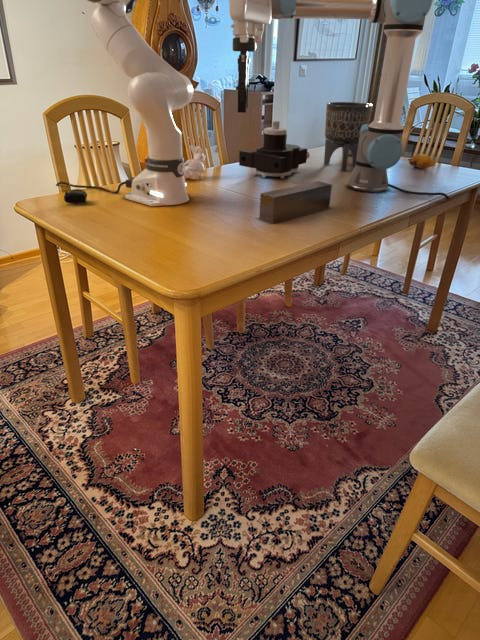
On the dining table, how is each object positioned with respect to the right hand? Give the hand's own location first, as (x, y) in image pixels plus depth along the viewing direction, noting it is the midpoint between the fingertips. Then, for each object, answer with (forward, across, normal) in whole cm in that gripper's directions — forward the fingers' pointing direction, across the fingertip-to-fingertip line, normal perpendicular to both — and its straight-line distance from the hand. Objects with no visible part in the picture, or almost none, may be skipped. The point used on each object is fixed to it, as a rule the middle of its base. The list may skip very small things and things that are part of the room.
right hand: (242, 110), depth 155 cm
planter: (+28, -51, +44) cm, 72 cm away
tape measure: (+28, +23, -54) cm, 64 cm away
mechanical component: (+28, -33, +15) cm, 46 cm away
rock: (+28, -83, +57) cm, 104 cm away
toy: (+28, -56, +82) cm, 103 cm away
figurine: (+28, -18, -21) cm, 39 cm away
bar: (+28, +24, +19) cm, 42 cm away
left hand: (-19, +27, +3) cm, 34 cm away
